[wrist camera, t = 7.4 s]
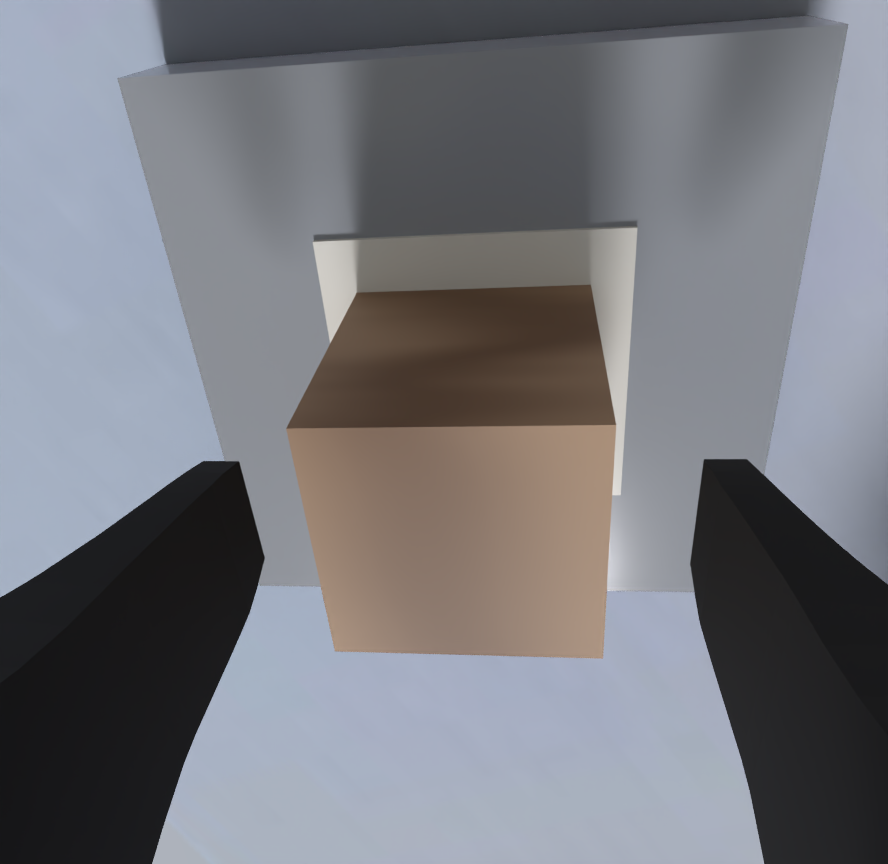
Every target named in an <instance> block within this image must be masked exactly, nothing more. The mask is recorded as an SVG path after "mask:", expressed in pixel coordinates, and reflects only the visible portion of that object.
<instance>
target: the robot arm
mask: <svg viewBox="0 0 888 864" xmlns="http://www.w3.org/2000/svg"><path fill="white" fill-rule="evenodd" d="M264 560H265V556H264V553H263V549H262V545H261V541H260V538H259V534H258V530H257V526H256V523H255V519H254V515H253V511H252V508H251V504H250V500H249V496H248V493H247V489H246V485H245V481H244V477H243V474H242V470H241V466H240V462H239V461H203V462H201V463H200V464H198V465H196V466H195V467H193V468H192V469H190V470H189V471H187V472H186V473H184V474H183V475H181V476H180V477H178V478H177V479H176V480H174V481H173V482H171V483H170V484H168V485H167V486H166V487H164V488H163V489H162V490H160V491H159V492H157V493H156V494H155V495H153V496H152V497H151V498H149V499H148V500H146V501H145V502H144V503H142V504H141V505H140V506H138V507H137V508H135V509H134V510H133V511H131V512H130V513H128V514H127V515H126V516H124V517H123V518H122V519H120V520H119V521H117V522H116V523H115V524H113V525H112V526H110V527H109V528H108V529H106V530H105V531H103V532H102V533H101V534H99V535H98V536H96V537H95V538H93V539H92V540H90V541H89V542H87V543H86V544H84V545H83V546H81V547H80V548H78V549H77V550H75V551H74V552H72V553H71V554H69V555H68V556H66V557H65V558H63V559H62V560H60V561H59V562H57V563H56V564H54V565H53V566H51V567H50V568H48V569H47V570H45V571H44V572H42V573H41V574H39V575H37V576H36V577H34V578H33V579H31V580H29V581H28V582H26V583H24V584H23V585H21V586H19V587H18V588H16V589H14V590H13V591H11V592H9V593H8V594H6V595H4V596H2V597H0V864H152V862H153V858H154V855H155V852H156V849H157V845H158V842H159V839H160V835H161V832H162V828H163V825H164V822H165V819H166V816H167V813H168V810H169V807H170V804H171V801H172V798H173V795H174V792H175V789H176V786H177V783H178V780H179V777H180V774H181V771H182V768H183V765H184V762H185V759H186V757H187V754H188V752H189V749H190V747H191V744H192V742H193V739H194V737H195V734H196V732H197V730H198V728H199V726H200V723H201V721H202V719H203V717H204V714H205V712H206V710H207V708H208V706H209V703H210V701H211V699H212V697H213V694H214V692H215V690H216V688H217V686H218V683H219V681H220V679H221V677H222V674H223V672H224V670H225V668H226V666H227V663H228V661H229V659H230V657H231V654H232V652H233V650H234V648H235V645H236V643H237V641H238V638H239V636H240V634H241V632H242V629H243V627H244V625H245V622H246V620H247V618H248V615H249V613H250V609H251V606H252V603H253V600H254V596H255V593H256V590H257V586H258V582H259V579H260V575H261V571H262V567H263V564H264ZM690 567H691V573H692V579H693V585H694V592H695V598H696V603H697V609H698V615H699V620H700V625H701V628H702V632H703V635H704V639H705V642H706V645H707V648H708V652H709V655H710V658H711V662H712V665H713V668H714V672H715V675H716V678H717V681H718V685H719V688H720V691H721V694H722V698H723V701H724V704H725V707H726V710H727V714H728V717H729V720H730V723H731V727H732V730H733V733H734V736H735V740H736V743H737V746H738V749H739V753H740V756H741V759H742V763H743V767H744V770H745V774H746V778H747V782H748V786H749V790H750V794H751V799H752V804H753V809H754V814H755V819H756V824H757V829H758V834H759V839H760V844H761V849H762V854H763V859H764V864H888V584H886V583H885V582H884V581H883V580H881V579H880V578H879V577H878V576H876V575H875V574H874V573H872V572H871V571H870V570H869V569H867V568H866V567H865V566H864V565H862V564H861V563H860V562H859V561H858V560H856V559H855V558H854V557H853V556H852V555H850V554H849V553H848V552H847V551H846V550H844V549H843V548H842V547H841V546H840V545H839V544H838V543H836V542H835V541H834V540H833V539H832V538H831V537H830V536H828V535H827V534H826V533H825V532H824V531H823V530H822V529H821V528H819V527H818V526H817V525H816V524H815V523H814V522H813V521H812V520H811V519H810V518H808V517H807V516H806V515H805V514H804V513H803V512H802V511H801V510H800V509H799V508H798V507H797V506H796V505H795V504H794V503H792V502H791V501H790V500H789V499H788V498H787V497H786V496H785V495H784V494H783V493H782V492H781V491H780V490H779V489H778V488H777V487H776V486H775V485H774V484H773V483H772V482H771V481H769V480H768V479H767V478H766V477H765V476H764V475H763V474H762V473H761V472H760V471H759V470H758V469H757V468H756V467H755V466H754V465H753V464H752V463H751V462H750V461H748V460H747V459H704V461H703V469H702V477H701V484H700V492H699V499H698V507H697V515H696V522H695V530H694V538H693V545H692V553H691V560H690Z"/></svg>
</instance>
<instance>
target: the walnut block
mask: <svg viewBox="0 0 888 864" xmlns="http://www.w3.org/2000/svg"><path fill="white" fill-rule="evenodd" d="M286 430H287V435H288V439H289V444H290V449H291V453H292V458H293V462H294V467H295V471H296V476H297V480H298V485H299V489H300V494H301V499H302V503H303V508H304V512H305V517H306V521H307V526H308V530H309V535H310V540H311V544H312V549H313V553H314V558H315V562H316V567H317V571H318V576H319V580H320V585H321V590H322V594H323V599H324V603H325V608H326V612H327V617H328V621H329V626H330V630H331V635H332V640H333V644H334V649H335V651H344V652H381V653H418V654H455V655H492V656H529V657H566V658H603V648H604V630H605V613H606V595H607V578H608V560H609V543H610V525H611V508H612V490H613V473H614V455H615V438H616V421H615V415H614V410H613V404H612V399H611V393H610V388H609V382H608V377H607V371H606V366H605V360H604V355H603V349H602V344H601V338H600V332H599V327H598V321H597V316H596V310H595V305H594V299H593V294H592V288H591V285H568V286H538V287H508V288H478V289H449V290H419V291H389V292H359V293H356V295H355V297H354V299H353V301H352V303H351V305H350V307H349V308H348V310H347V312H346V314H345V316H344V318H343V320H342V322H341V324H340V326H339V328H338V330H337V332H336V333H335V335H334V337H333V339H332V341H331V343H330V345H329V347H328V349H327V351H326V353H325V355H324V357H323V359H322V360H321V362H320V364H319V366H318V368H317V370H316V372H315V374H314V376H313V378H312V380H311V382H310V384H309V385H308V387H307V389H306V391H305V393H304V395H303V397H302V399H301V401H300V403H299V405H298V407H297V409H296V410H295V412H294V414H293V416H292V418H291V420H290V422H289V424H288V426H287V428H286Z"/></svg>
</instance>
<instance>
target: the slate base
mask: <svg viewBox="0 0 888 864" xmlns="http://www.w3.org/2000/svg"><path fill="white" fill-rule="evenodd" d="M847 29H848V24H845V23H841V22H836V21H831V20H827V19H822V18H817V17H813V16H795V17H781V18H768V19H755V20H742V21H729V22H716V23H703V24H689V25H676V26H663V27H650V28H637V29H624V30H611V31H597V32H584V33H571V34H558V35H545V36H532V37H519V38H506V39H492V40H479V41H466V42H453V43H440V44H427V45H414V46H400V47H387V48H374V49H361V50H348V51H335V52H322V53H308V54H295V55H282V56H269V57H256V58H243V59H230V60H216V61H203V62H190V63H177V64H165V65H161V66H158V67H155V68H151V69H148V70H144V71H141V72H138V73H134V74H131V75H127V76H124V77H121V78H118V82H119V86H120V89H121V93H122V96H123V100H124V103H125V107H126V110H127V114H128V118H129V121H130V125H131V128H132V132H133V135H134V139H135V143H136V146H137V150H138V153H139V157H140V160H141V164H142V167H143V171H144V175H145V178H146V182H147V185H148V189H149V192H150V196H151V200H152V203H153V207H154V210H155V214H156V217H157V221H158V224H159V228H160V232H161V235H162V239H163V242H164V246H165V249H166V253H167V257H168V260H169V264H170V267H171V271H172V274H173V278H174V281H175V285H176V289H177V292H178V296H179V299H180V303H181V306H182V310H183V314H184V317H185V321H186V324H187V328H188V331H189V335H190V338H191V342H192V346H193V349H194V353H195V356H196V360H197V363H198V367H199V371H200V374H201V378H202V381H203V385H204V388H205V392H206V395H207V399H208V403H209V406H210V410H211V413H212V417H213V420H214V424H215V428H216V431H217V435H218V438H219V442H220V445H221V449H222V452H223V456H224V460H225V461H239V462H240V466H241V470H242V474H243V477H244V481H245V485H246V489H247V493H248V496H249V500H250V504H251V508H252V511H253V515H254V519H255V523H256V526H257V530H258V534H259V538H260V541H261V545H262V549H263V553H264V556H265V560H264V564H263V567H262V571H261V575H260V579H259V584H260V586H315V587H321V585H320V580H319V576H318V571H317V567H316V562H315V558H314V553H313V549H312V544H311V540H310V535H309V530H308V526H307V521H306V517H305V512H304V508H303V503H302V499H301V494H300V489H299V485H298V480H297V476H296V471H295V467H294V462H293V458H292V453H291V449H290V444H289V439H288V435H287V430H286V428H287V426H288V424H289V422H290V420H291V418H292V416H293V414H294V412H295V410H296V409H297V407H298V405H299V403H300V401H301V399H302V397H303V395H304V393H305V391H306V389H307V387H308V385H309V384H310V382H311V380H312V378H313V376H314V374H315V372H316V370H317V368H318V366H319V364H320V362H321V360H322V359H323V357H324V355H325V353H326V351H327V349H328V347H329V345H330V343H331V341H332V339H333V337H334V335H335V333H336V332H337V330H338V328H339V326H340V324H341V322H342V320H343V318H344V316H345V314H346V312H347V310H348V308H349V307H350V305H351V303H352V301H353V299H354V297H355V295H356V293H359V292H389V291H419V290H449V289H478V288H508V287H538V286H568V285H591V288H592V294H593V299H594V305H595V310H596V316H597V321H598V327H599V332H600V338H601V344H602V349H603V355H604V360H605V366H606V371H607V377H608V382H609V388H610V393H611V399H612V404H613V410H614V415H615V421H616V438H615V455H614V473H613V490H612V508H611V525H610V543H609V560H608V578H607V591H650V592H694V585H693V579H692V573H691V567H690V560H691V553H692V545H693V538H694V530H695V522H696V515H697V507H698V499H699V492H700V484H701V477H702V469H703V461H704V459H747V460H748V461H750V462H751V463H752V464H753V465H754V466H755V467H756V468H757V469H758V470H759V471H760V472H761V473H762V474H763V475H764V472H765V467H766V462H767V456H768V451H769V446H770V440H771V435H772V430H773V424H774V419H775V414H776V408H777V403H778V398H779V392H780V387H781V382H782V376H783V371H784V366H785V360H786V355H787V349H788V344H789V339H790V333H791V328H792V323H793V317H794V312H795V307H796V301H797V296H798V291H799V285H800V280H801V275H802V269H803V264H804V259H805V253H806V248H807V243H808V237H809V232H810V226H811V221H812V216H813V210H814V205H815V200H816V194H817V189H818V184H819V178H820V173H821V168H822V162H823V157H824V152H825V146H826V141H827V136H828V130H829V125H830V120H831V114H832V109H833V103H834V98H835V93H836V87H837V82H838V77H839V71H840V66H841V61H842V55H843V50H844V45H845V39H846V34H847Z"/></svg>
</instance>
